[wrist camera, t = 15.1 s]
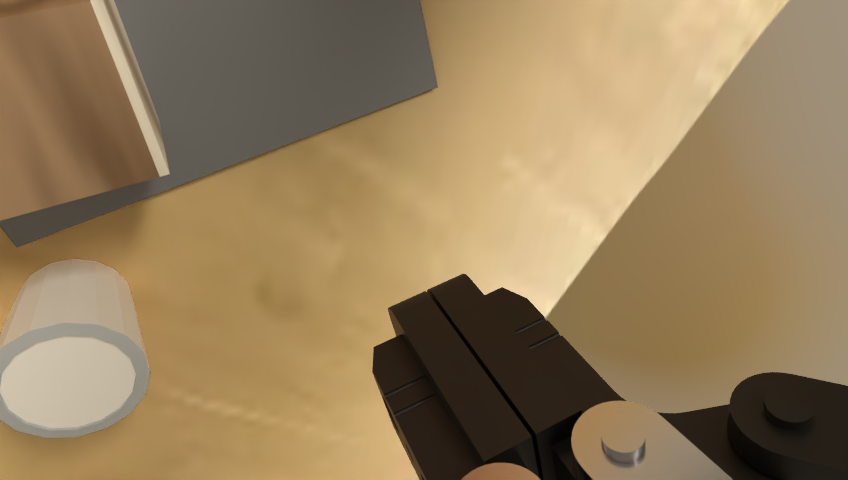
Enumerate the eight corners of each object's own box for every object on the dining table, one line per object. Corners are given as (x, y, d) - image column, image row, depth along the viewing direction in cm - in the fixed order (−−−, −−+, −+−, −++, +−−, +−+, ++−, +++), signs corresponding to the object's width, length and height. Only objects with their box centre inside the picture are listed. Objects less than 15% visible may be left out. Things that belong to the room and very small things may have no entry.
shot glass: (-7, 252, 32) (-32, 333, 26) (141, 245, 34) (148, 316, 29) (12, 359, 35) (-7, 452, 29) (146, 344, 38) (152, 426, 32)
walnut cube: (102, -2, 22) (-127, 42, 20) (169, 174, 26) (-17, 225, 24) (103, -28, 27) (-76, 5, 26) (159, 120, 31) (7, 158, 29)
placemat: (381, -171, 30) (384, -171, 29) (434, 85, 37) (437, 87, 37) (-177, -19, 24) (-181, -17, 24) (17, 243, 32) (16, 247, 31)
